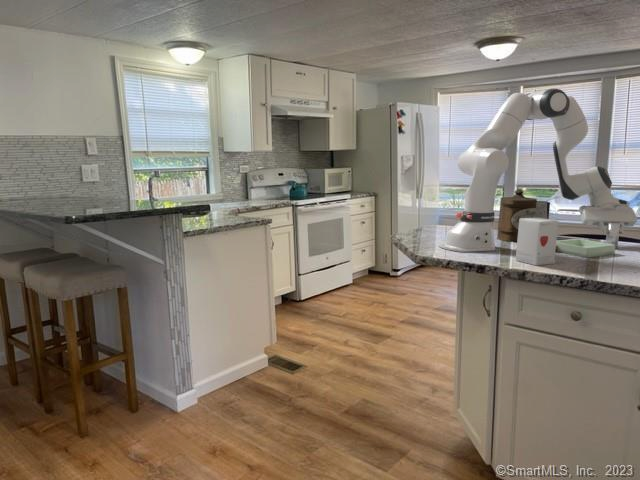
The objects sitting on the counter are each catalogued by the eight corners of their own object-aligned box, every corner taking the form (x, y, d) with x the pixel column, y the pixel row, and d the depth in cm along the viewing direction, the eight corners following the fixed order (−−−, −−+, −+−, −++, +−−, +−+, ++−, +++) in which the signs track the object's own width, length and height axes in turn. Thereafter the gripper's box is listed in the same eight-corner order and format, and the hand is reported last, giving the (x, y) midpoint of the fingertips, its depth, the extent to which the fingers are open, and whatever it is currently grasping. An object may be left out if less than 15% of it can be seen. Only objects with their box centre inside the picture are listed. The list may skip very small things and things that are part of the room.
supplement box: (535, 266, 156) (539, 221, 153) (514, 260, 164) (518, 218, 161) (555, 263, 159) (559, 220, 157) (533, 258, 167) (537, 216, 165)
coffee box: (547, 238, 209) (550, 202, 207) (532, 237, 211) (535, 201, 208) (542, 235, 218) (545, 200, 215) (527, 234, 220) (530, 200, 217)
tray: (586, 257, 169) (587, 248, 168) (550, 250, 182) (550, 241, 182) (614, 254, 176) (615, 244, 175) (577, 247, 189) (578, 238, 188)
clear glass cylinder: (613, 249, 185) (615, 224, 183) (602, 247, 189) (605, 222, 187) (619, 248, 187) (622, 223, 185) (609, 246, 190) (612, 222, 189)
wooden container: (518, 243, 196) (522, 191, 192) (490, 238, 209) (493, 188, 205) (541, 240, 203) (545, 190, 199) (512, 235, 216) (516, 188, 212)
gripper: (580, 200, 192) (589, 227, 184) (633, 201, 190) (644, 228, 183) (574, 210, 197) (583, 237, 189) (625, 211, 196) (636, 238, 188)
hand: (613, 233), depth 186 cm, fingers closed on clear glass cylinder, 4 cm apart
